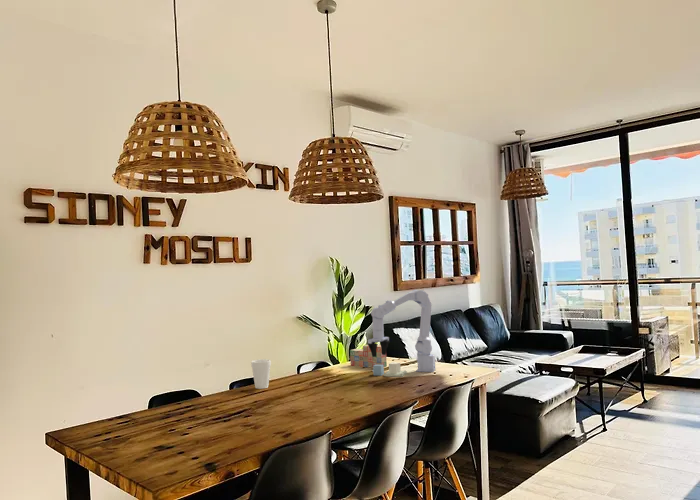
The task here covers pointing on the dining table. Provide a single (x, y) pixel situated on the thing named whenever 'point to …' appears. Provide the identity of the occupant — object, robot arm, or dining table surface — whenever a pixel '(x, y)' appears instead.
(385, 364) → the stack of blocks
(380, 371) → the brick blue
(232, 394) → the dining table surface
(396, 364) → the brick cream
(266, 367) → the foam cup
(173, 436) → the dining table surface
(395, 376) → the build plate
